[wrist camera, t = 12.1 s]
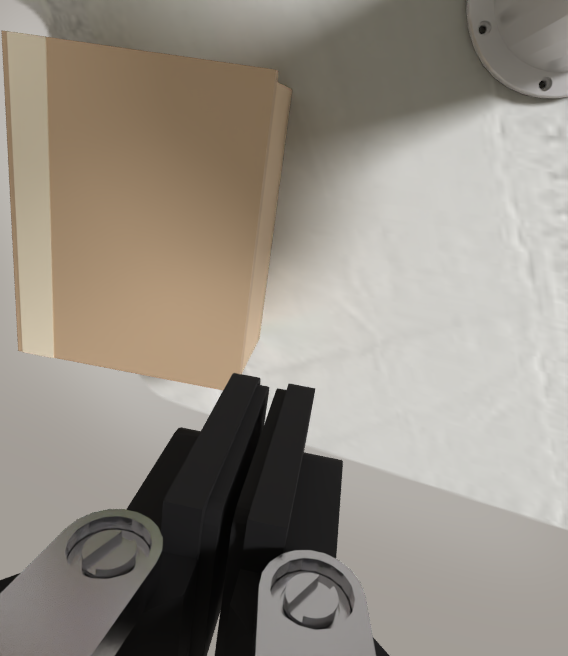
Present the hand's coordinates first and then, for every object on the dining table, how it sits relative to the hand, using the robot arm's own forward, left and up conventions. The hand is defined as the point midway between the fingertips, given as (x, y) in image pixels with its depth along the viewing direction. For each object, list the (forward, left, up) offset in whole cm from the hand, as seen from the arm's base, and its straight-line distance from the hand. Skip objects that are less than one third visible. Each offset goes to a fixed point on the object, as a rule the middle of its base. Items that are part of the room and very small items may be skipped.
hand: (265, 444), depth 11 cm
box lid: (+2, -13, -25) cm, 28 cm away
